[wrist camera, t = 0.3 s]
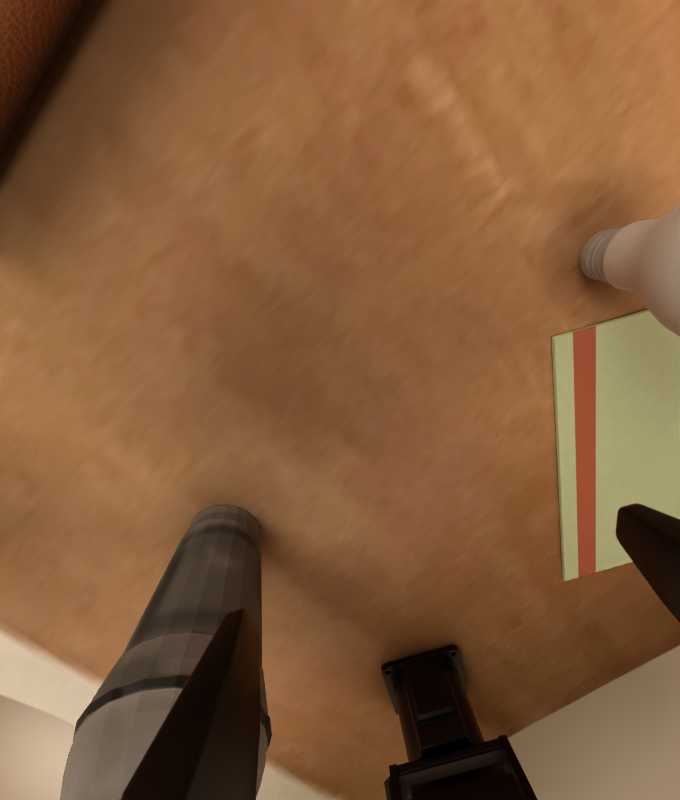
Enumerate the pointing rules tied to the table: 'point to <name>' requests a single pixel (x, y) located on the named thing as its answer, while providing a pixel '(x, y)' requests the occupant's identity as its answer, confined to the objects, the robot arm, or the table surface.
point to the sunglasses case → (28, 51)
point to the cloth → (614, 433)
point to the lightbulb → (641, 263)
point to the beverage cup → (169, 653)
